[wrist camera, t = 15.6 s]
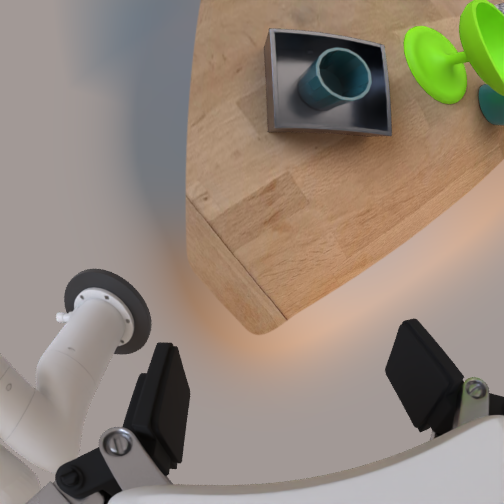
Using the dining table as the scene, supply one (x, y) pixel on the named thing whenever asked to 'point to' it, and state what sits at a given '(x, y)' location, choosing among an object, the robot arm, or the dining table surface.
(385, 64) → the grey open box
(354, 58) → the tumbler
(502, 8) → the planter
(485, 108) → the cup
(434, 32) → the wineglass
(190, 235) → the dining table surface
